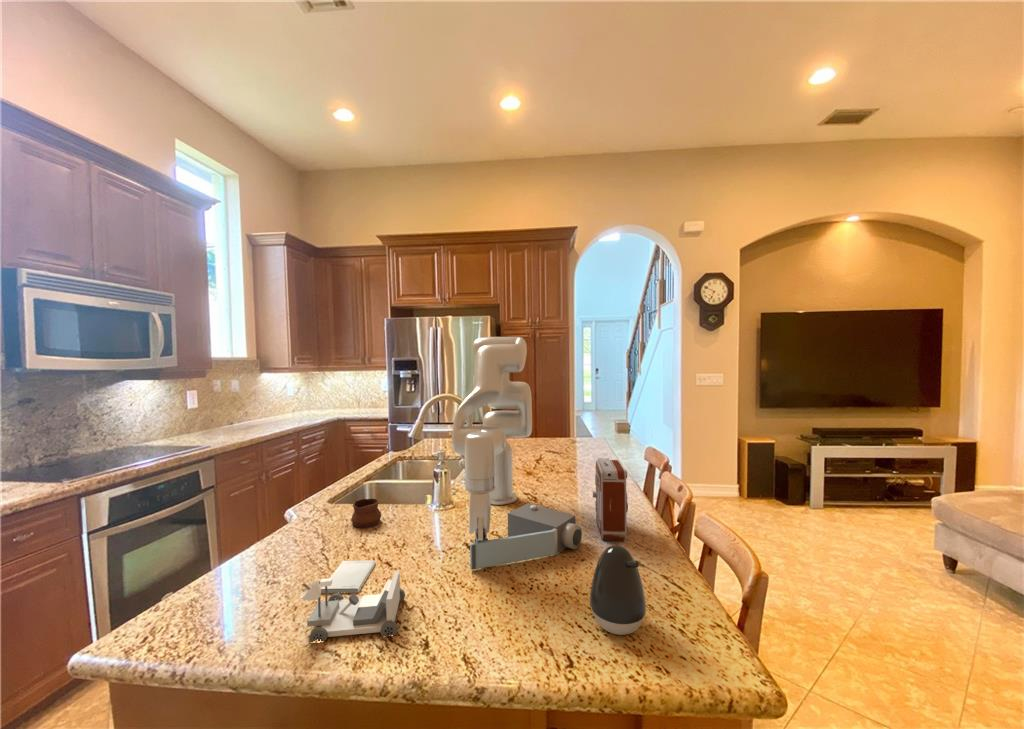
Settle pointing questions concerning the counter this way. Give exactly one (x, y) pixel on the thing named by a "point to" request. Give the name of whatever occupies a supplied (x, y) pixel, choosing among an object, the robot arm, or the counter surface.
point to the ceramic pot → (366, 513)
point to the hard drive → (350, 576)
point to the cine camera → (611, 499)
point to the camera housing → (545, 524)
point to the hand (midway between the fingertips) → (481, 555)
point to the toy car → (354, 611)
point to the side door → (513, 549)
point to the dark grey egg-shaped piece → (617, 592)
